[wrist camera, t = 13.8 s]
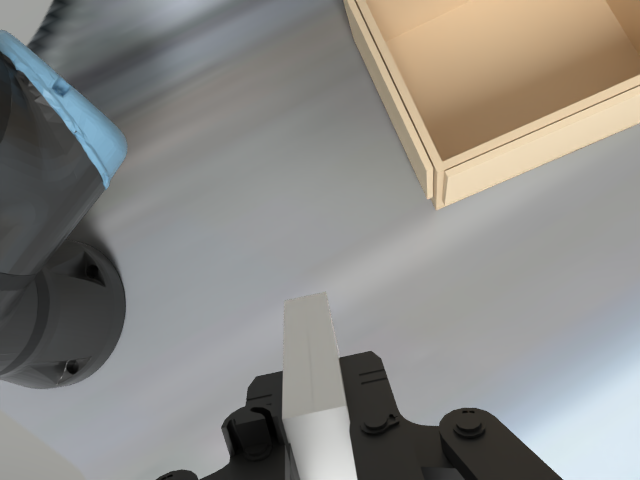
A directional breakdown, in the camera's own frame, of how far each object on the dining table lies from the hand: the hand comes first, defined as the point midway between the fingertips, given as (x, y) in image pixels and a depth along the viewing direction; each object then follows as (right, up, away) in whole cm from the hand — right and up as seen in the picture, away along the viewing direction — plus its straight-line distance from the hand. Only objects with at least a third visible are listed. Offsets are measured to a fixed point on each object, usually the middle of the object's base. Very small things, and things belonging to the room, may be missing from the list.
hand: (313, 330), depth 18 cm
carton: (+18, +18, +29) cm, 39 cm away
